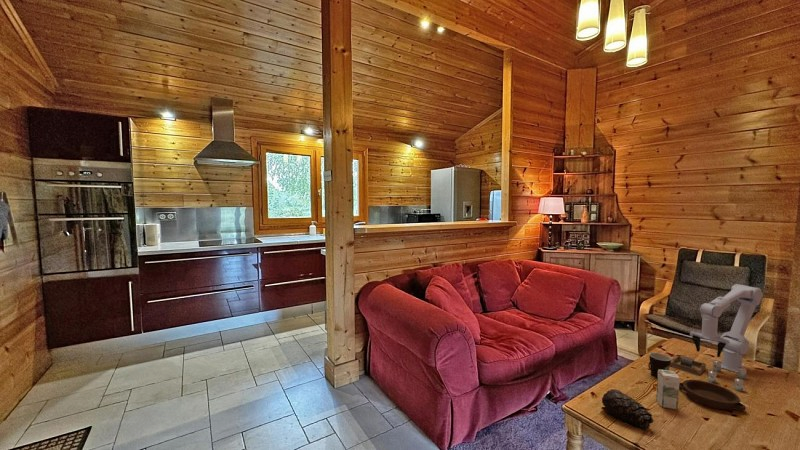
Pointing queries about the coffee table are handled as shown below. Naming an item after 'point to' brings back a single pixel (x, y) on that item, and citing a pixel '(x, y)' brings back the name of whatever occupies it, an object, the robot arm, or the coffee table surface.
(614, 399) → the pine cone
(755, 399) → the coffee table surface
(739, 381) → the cylinder
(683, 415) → the coffee table surface
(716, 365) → the cylinder
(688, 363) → the grey cube
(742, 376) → the cylinder
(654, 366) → the coffee mug
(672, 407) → the syrup box
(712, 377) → the cylinder
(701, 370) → the square frame
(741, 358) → the robot arm
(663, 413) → the coffee table surface
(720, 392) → the dish
